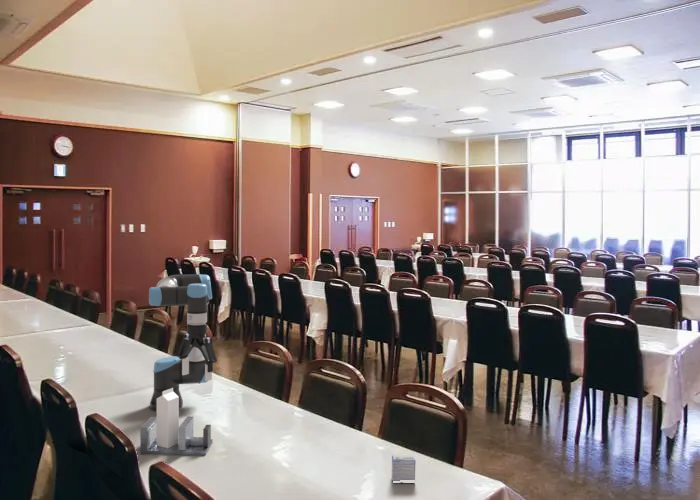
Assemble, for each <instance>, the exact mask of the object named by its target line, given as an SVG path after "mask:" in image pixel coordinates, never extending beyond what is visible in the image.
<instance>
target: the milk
mask: <svg viewBox="0 0 700 500" xmlns="http://www.w3.org/2000/svg"><path fill="white" fill-rule="evenodd" d="M179 410H180V408H179V396H178V395H176V394H175V393H174V392H173V388H171V389H168V390H165V391H163V392H162V396H160V397H158V398H157V411H156V417H157V446H160V447H164V448H170V447H172V446H174V445H176V444H178V430H179V426H180V424H179V423H180V421H179V419H180V416H179V415H180V411H179Z"/></svg>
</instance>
